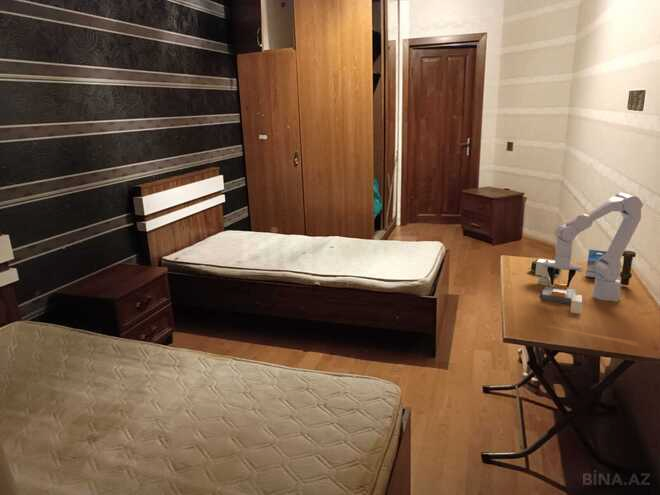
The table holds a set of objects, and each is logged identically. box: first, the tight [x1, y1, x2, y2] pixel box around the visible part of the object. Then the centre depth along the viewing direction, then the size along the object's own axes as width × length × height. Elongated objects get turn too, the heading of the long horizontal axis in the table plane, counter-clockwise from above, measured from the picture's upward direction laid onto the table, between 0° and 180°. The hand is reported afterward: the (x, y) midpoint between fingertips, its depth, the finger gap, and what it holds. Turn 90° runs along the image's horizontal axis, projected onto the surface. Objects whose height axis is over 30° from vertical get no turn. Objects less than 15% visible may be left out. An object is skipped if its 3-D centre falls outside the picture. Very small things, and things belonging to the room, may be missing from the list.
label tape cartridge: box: [585, 249, 608, 279], centre depth 221 cm, size 9×4×12 cm, turn 61°
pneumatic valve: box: [530, 258, 562, 286], centre depth 214 cm, size 6×12×12 cm, turn 53°
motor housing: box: [540, 282, 577, 305], centre depth 200 cm, size 15×12×4 cm
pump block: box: [570, 294, 583, 315], centre depth 188 cm, size 4×7×5 cm, turn 154°
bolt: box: [619, 250, 637, 286], centre depth 210 cm, size 6×5×15 cm
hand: (560, 285), depth 199 cm, fingers open, 5 cm apart
